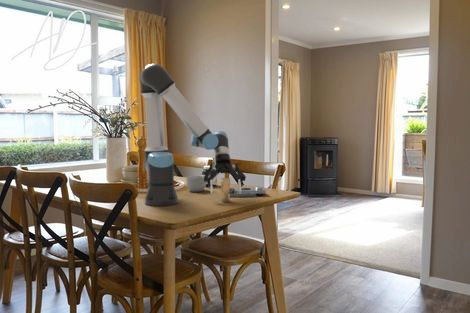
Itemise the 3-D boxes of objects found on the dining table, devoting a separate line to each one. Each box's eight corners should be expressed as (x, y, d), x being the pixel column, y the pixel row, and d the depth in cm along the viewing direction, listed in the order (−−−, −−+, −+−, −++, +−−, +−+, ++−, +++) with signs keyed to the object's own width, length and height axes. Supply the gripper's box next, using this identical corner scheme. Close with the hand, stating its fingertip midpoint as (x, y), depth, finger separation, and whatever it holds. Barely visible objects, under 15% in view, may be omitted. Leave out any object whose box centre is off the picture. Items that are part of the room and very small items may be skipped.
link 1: (226, 197, 206) (226, 190, 206) (224, 193, 216) (224, 186, 216) (256, 196, 208) (256, 189, 208) (252, 192, 218) (252, 186, 218)
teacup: (202, 192, 218) (202, 178, 218) (183, 192, 220) (183, 177, 220) (209, 188, 232) (209, 174, 231) (191, 188, 234) (191, 174, 233)
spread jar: (212, 187, 235) (212, 167, 234) (194, 186, 239) (194, 166, 238) (220, 184, 246) (220, 165, 245) (203, 183, 250) (203, 164, 249)
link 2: (236, 196, 207) (236, 189, 207) (233, 193, 217) (233, 186, 217) (265, 196, 209) (265, 189, 209) (261, 192, 219) (261, 186, 219)
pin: (221, 202, 193) (221, 179, 192) (220, 200, 197) (220, 178, 196) (230, 202, 194) (230, 179, 193) (229, 200, 197) (229, 178, 196)
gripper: (246, 161, 211) (251, 196, 197) (197, 162, 207) (199, 197, 194) (247, 152, 205) (253, 186, 192) (197, 152, 202) (199, 188, 188)
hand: (226, 192), depth 193 cm, fingers open, 13 cm apart
